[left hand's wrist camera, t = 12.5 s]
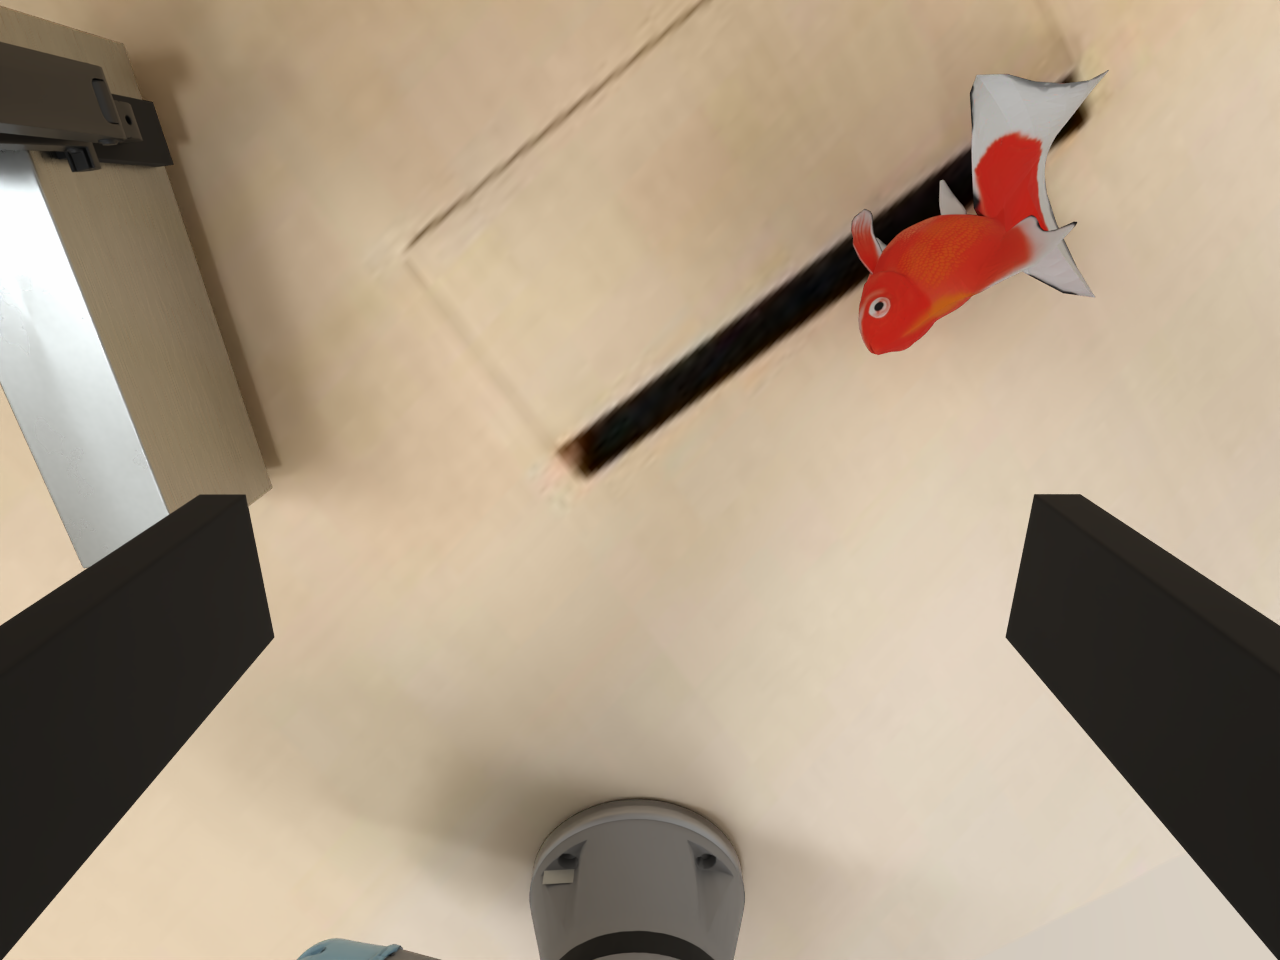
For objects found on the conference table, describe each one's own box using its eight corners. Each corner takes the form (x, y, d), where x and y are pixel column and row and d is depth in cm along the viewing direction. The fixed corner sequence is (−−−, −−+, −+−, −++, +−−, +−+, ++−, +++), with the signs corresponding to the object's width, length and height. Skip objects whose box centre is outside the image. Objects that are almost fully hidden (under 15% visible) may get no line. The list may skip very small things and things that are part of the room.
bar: (273, 488, 42) (185, 555, 34) (189, 499, 42) (82, 569, 34) (124, 43, 34) (-36, -7, 26) (22, 60, 34) (-167, 15, 26)
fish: (753, 175, 33) (940, 193, 25) (982, 15, 37) (1207, -13, 29) (810, 367, 39) (973, 427, 32) (1000, 215, 43) (1188, 235, 35)
